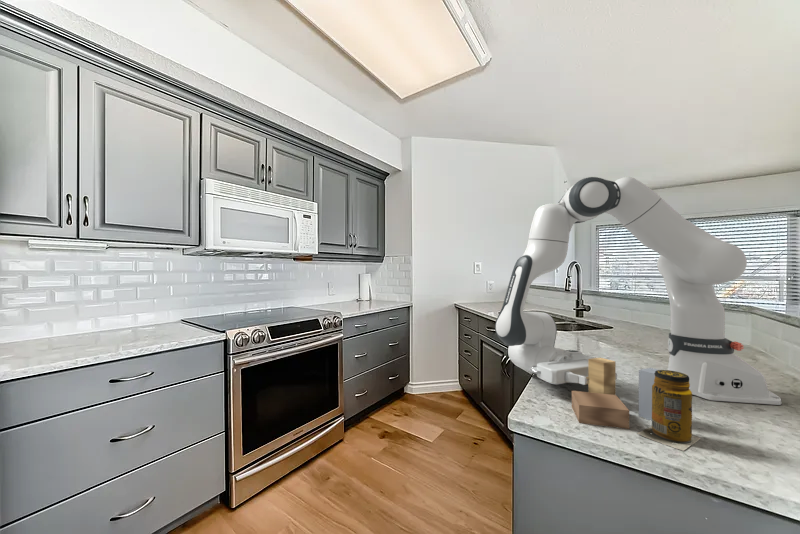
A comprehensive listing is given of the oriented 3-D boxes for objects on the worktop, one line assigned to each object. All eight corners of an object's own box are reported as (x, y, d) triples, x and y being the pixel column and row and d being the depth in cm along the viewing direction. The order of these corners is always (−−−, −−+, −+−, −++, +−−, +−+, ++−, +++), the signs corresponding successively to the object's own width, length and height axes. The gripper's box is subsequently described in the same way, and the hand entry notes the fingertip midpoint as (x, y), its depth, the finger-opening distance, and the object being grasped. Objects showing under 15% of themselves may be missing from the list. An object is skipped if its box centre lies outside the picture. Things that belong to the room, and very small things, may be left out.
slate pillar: (650, 413, 77) (650, 367, 77) (670, 420, 73) (670, 372, 73) (638, 416, 75) (638, 369, 75) (658, 423, 72) (658, 374, 72)
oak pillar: (599, 398, 86) (600, 357, 86) (615, 403, 82) (615, 361, 82) (588, 400, 84) (588, 358, 84) (603, 406, 81) (603, 363, 81)
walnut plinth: (616, 413, 78) (616, 395, 78) (629, 430, 69) (629, 410, 69) (571, 407, 80) (571, 390, 80) (579, 424, 72) (579, 404, 72)
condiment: (701, 439, 65) (700, 374, 65) (683, 451, 61) (683, 382, 61) (655, 424, 71) (655, 365, 71) (636, 435, 67) (636, 372, 67)
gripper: (525, 356, 92) (569, 370, 80) (581, 349, 100) (629, 361, 87) (525, 380, 92) (569, 398, 79) (581, 372, 100) (629, 386, 87)
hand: (601, 378), depth 83 cm, fingers open, 8 cm apart
